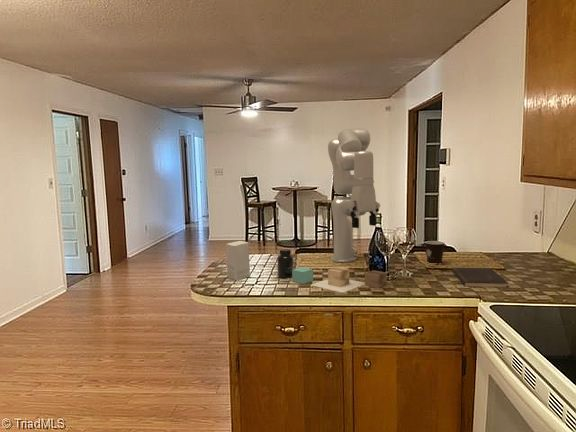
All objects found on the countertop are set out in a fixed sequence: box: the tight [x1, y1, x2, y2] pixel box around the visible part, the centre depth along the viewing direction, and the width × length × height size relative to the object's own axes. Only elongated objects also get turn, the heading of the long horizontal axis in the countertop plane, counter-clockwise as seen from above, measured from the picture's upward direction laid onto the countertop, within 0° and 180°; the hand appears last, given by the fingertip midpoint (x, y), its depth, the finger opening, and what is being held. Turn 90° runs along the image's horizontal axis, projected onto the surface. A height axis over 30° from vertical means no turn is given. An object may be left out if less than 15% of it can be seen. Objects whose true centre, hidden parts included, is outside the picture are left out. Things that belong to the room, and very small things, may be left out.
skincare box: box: [225, 240, 251, 281], centre depth 191 cm, size 8×7×16 cm
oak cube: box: [327, 266, 350, 287], centre depth 174 cm, size 6×6×6 cm
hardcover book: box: [451, 267, 509, 288], centre depth 180 cm, size 16×23×2 cm
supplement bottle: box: [277, 248, 294, 279], centre depth 190 cm, size 7×7×12 cm
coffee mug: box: [422, 240, 445, 264], centre depth 209 cm, size 12×9×10 cm
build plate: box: [310, 278, 365, 294], centre depth 174 cm, size 16×16×1 cm
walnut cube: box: [364, 269, 387, 289], centre depth 171 cm, size 6×6×6 cm
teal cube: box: [291, 266, 314, 285], centre depth 180 cm, size 6×6×6 cm
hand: (364, 226), depth 173 cm, fingers open, 9 cm apart
